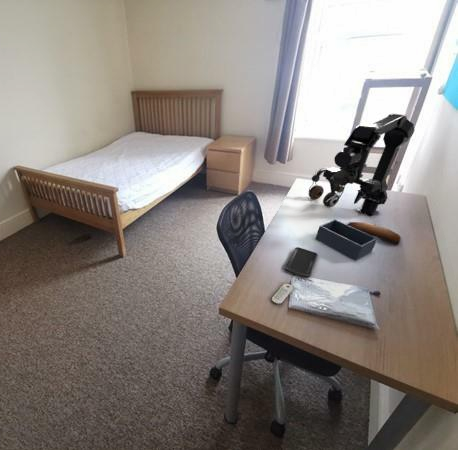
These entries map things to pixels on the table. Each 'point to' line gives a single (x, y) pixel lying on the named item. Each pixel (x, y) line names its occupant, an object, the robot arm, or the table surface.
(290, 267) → the phone
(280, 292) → the keychain
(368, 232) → the sunglasses case
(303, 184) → the table surface
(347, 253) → the box
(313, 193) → the headset
